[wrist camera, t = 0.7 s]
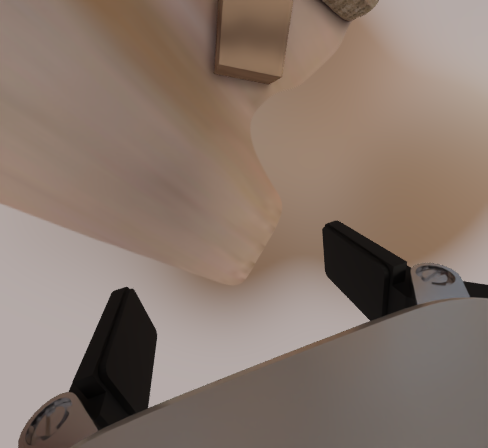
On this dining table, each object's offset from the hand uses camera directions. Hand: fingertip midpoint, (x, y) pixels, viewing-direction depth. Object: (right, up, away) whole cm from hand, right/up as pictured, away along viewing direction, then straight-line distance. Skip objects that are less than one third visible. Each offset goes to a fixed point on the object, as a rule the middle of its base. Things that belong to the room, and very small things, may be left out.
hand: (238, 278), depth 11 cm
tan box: (0, +27, +20) cm, 33 cm away
